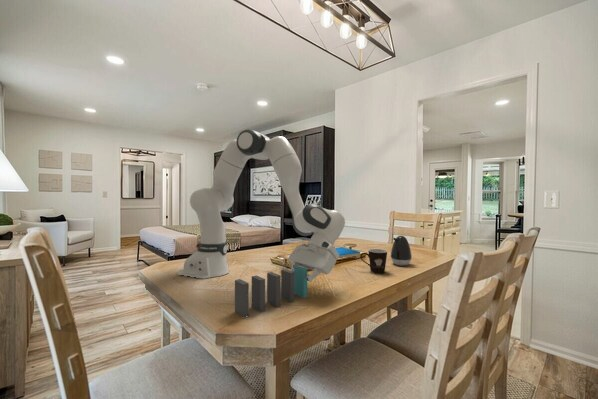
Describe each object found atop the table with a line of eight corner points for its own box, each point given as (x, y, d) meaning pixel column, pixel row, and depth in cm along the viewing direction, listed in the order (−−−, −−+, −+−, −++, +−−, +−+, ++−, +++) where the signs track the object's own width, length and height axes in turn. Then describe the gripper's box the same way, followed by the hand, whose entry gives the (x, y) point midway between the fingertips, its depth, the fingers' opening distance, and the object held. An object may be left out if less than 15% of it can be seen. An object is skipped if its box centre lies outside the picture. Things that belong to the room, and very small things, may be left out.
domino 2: (260, 312, 84) (260, 280, 84) (251, 307, 88) (251, 276, 88) (265, 310, 85) (265, 279, 85) (256, 305, 89) (256, 275, 89)
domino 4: (290, 302, 92) (290, 273, 92) (281, 297, 96) (281, 269, 96) (294, 301, 93) (294, 272, 93) (285, 296, 97) (285, 268, 97)
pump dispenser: (386, 263, 145) (386, 234, 144) (400, 261, 149) (401, 233, 149) (400, 268, 135) (401, 237, 135) (415, 265, 140) (416, 236, 139)
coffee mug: (389, 271, 130) (389, 250, 130) (383, 275, 123) (384, 253, 123) (365, 267, 137) (366, 247, 136) (359, 271, 130) (359, 250, 129)
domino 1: (243, 318, 80) (243, 284, 80) (234, 312, 84) (234, 280, 84) (248, 316, 81) (248, 283, 81) (240, 310, 85) (240, 279, 85)
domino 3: (276, 307, 88) (276, 276, 88) (267, 302, 92) (267, 272, 92) (280, 305, 89) (280, 275, 89) (271, 300, 93) (271, 271, 93)
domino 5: (303, 297, 96) (303, 269, 96) (294, 293, 100) (294, 266, 100) (307, 296, 97) (307, 268, 97) (297, 292, 101) (298, 265, 101)
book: (360, 251, 157) (325, 256, 144) (360, 259, 157) (325, 264, 144) (341, 246, 172) (308, 250, 159) (341, 253, 172) (308, 257, 159)
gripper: (296, 238, 111) (277, 266, 104) (334, 245, 95) (314, 279, 89) (305, 247, 114) (286, 275, 107) (343, 256, 98) (323, 289, 92)
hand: (299, 277), depth 98 cm, fingers open, 8 cm apart
